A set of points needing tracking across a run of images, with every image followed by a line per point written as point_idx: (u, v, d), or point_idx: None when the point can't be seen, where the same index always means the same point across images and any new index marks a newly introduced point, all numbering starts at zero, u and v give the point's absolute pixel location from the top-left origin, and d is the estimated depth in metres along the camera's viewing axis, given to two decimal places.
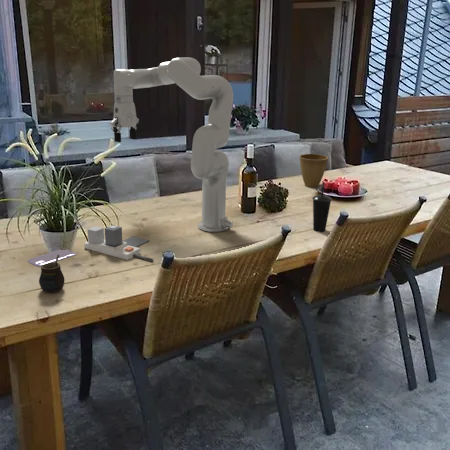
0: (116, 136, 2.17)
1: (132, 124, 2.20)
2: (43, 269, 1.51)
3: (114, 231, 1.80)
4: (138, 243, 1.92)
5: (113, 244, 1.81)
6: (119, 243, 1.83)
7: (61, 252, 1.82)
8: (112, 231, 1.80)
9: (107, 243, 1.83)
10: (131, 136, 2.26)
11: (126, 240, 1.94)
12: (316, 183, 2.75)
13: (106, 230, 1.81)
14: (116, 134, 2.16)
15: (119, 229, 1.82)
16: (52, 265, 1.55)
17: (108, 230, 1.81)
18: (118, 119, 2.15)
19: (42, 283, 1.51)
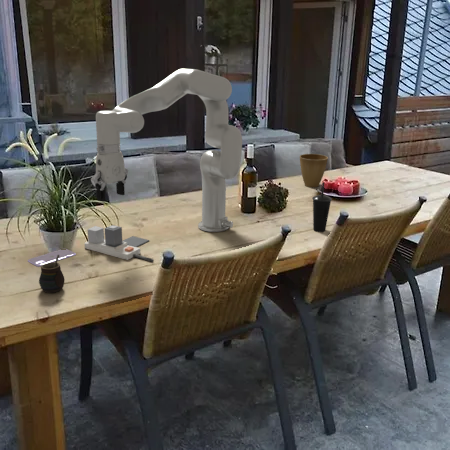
0: (99, 194, 1.73)
1: (119, 178, 1.76)
2: (43, 269, 1.51)
3: (114, 231, 1.80)
4: (138, 243, 1.92)
5: (113, 244, 1.81)
6: (119, 243, 1.83)
7: (62, 252, 1.82)
8: (112, 231, 1.80)
9: (107, 243, 1.83)
10: (118, 191, 1.82)
11: (126, 240, 1.94)
12: (316, 183, 2.75)
13: (106, 230, 1.81)
14: (99, 192, 1.72)
15: (119, 229, 1.82)
16: (52, 265, 1.55)
17: (108, 230, 1.81)
18: (101, 174, 1.71)
19: (42, 283, 1.51)
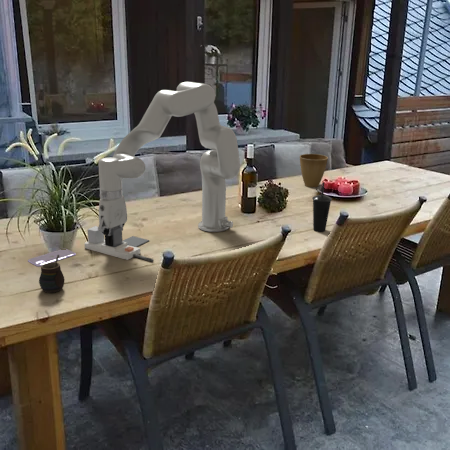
0: (107, 239, 1.80)
1: (122, 222, 1.81)
2: (43, 269, 1.51)
3: (114, 231, 1.80)
4: (138, 243, 1.92)
5: (113, 244, 1.81)
6: (119, 243, 1.83)
7: (62, 252, 1.82)
8: (112, 231, 1.80)
9: None
10: None
11: (126, 240, 1.94)
12: (316, 183, 2.75)
13: None
14: (107, 237, 1.80)
15: (119, 229, 1.82)
16: (52, 265, 1.55)
17: None
18: (104, 219, 1.76)
19: (42, 283, 1.51)
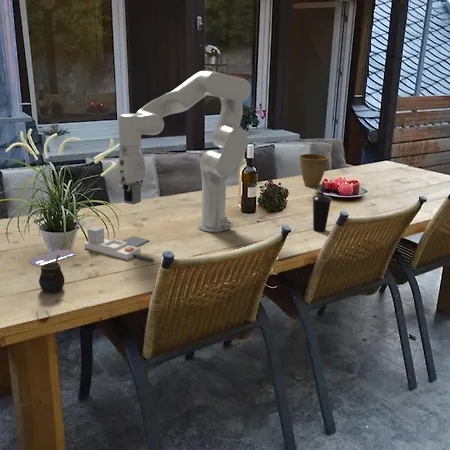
0: (126, 195, 1.85)
1: (140, 178, 1.86)
2: (43, 269, 1.51)
3: (133, 186, 1.84)
4: (138, 243, 1.92)
5: (132, 199, 1.86)
6: (138, 199, 1.88)
7: (62, 252, 1.82)
8: (131, 186, 1.84)
9: None
10: None
11: (126, 240, 1.94)
12: (316, 183, 2.75)
13: None
14: (126, 192, 1.84)
15: (138, 185, 1.86)
16: (52, 265, 1.55)
17: (127, 185, 1.85)
18: (124, 173, 1.80)
19: (42, 283, 1.51)
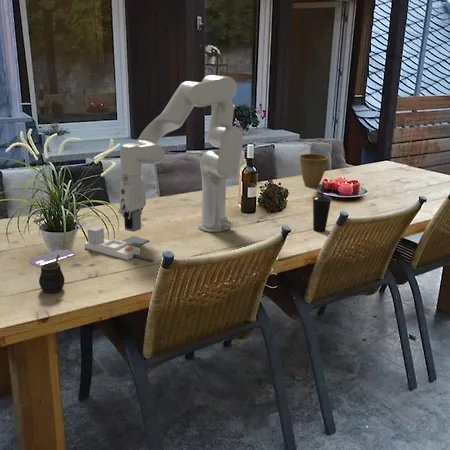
0: (127, 222, 1.88)
1: (141, 205, 1.89)
2: (43, 269, 1.51)
3: (133, 214, 1.88)
4: (138, 243, 1.92)
5: (132, 227, 1.89)
6: (138, 226, 1.91)
7: (62, 252, 1.82)
8: (132, 214, 1.88)
9: None
10: None
11: (126, 240, 1.94)
12: (316, 183, 2.75)
13: None
14: (127, 220, 1.88)
15: (138, 213, 1.90)
16: (52, 265, 1.55)
17: None
18: (125, 202, 1.84)
19: (42, 283, 1.51)
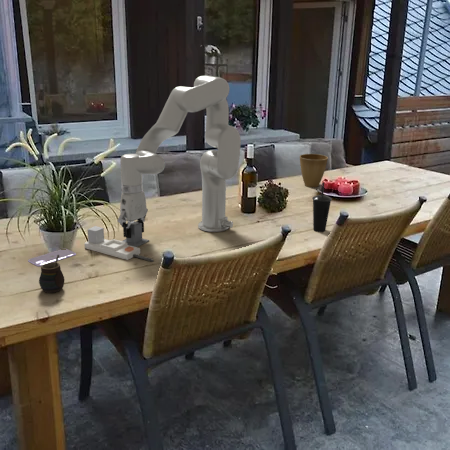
0: (125, 232, 1.88)
1: (142, 215, 1.91)
2: (43, 269, 1.51)
3: (135, 227, 1.89)
4: (138, 243, 1.92)
5: (134, 239, 1.91)
6: (139, 238, 1.93)
7: (62, 252, 1.82)
8: (133, 227, 1.89)
9: (128, 238, 1.92)
10: None
11: None
12: (316, 183, 2.75)
13: None
14: (125, 229, 1.88)
15: (139, 225, 1.92)
16: (52, 265, 1.55)
17: None
18: (126, 212, 1.85)
19: (42, 283, 1.51)
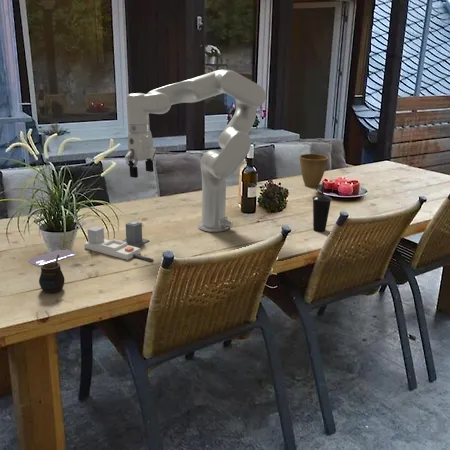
0: (132, 171, 1.87)
1: (149, 156, 1.91)
2: (43, 269, 1.51)
3: (135, 227, 1.89)
4: (138, 243, 1.92)
5: (134, 239, 1.91)
6: (139, 238, 1.93)
7: (62, 252, 1.82)
8: (133, 227, 1.89)
9: (128, 238, 1.92)
10: (148, 168, 1.97)
11: None
12: (316, 183, 2.75)
13: (127, 226, 1.91)
14: (132, 169, 1.87)
15: (139, 225, 1.92)
16: (52, 265, 1.55)
17: (129, 225, 1.90)
18: (134, 151, 1.85)
19: (42, 283, 1.51)
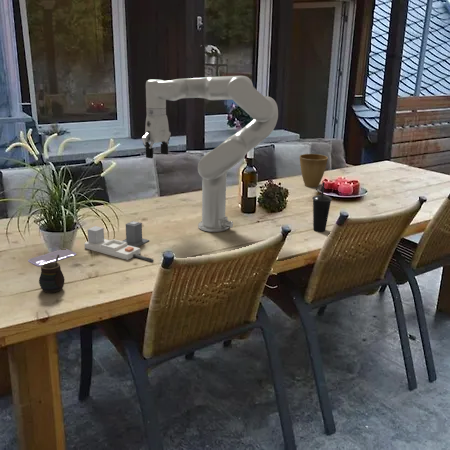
0: (148, 152, 2.01)
1: (165, 139, 2.04)
2: (43, 269, 1.51)
3: (135, 227, 1.89)
4: (138, 243, 1.92)
5: (134, 239, 1.91)
6: (139, 238, 1.93)
7: (62, 252, 1.82)
8: (133, 227, 1.89)
9: (128, 238, 1.92)
10: (163, 151, 2.10)
11: None
12: (316, 183, 2.75)
13: (127, 226, 1.91)
14: (148, 150, 2.00)
15: (139, 225, 1.92)
16: (52, 265, 1.55)
17: (129, 225, 1.90)
18: (150, 134, 1.99)
19: (42, 283, 1.51)
